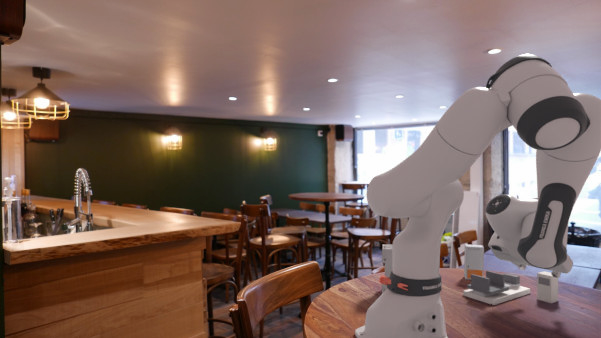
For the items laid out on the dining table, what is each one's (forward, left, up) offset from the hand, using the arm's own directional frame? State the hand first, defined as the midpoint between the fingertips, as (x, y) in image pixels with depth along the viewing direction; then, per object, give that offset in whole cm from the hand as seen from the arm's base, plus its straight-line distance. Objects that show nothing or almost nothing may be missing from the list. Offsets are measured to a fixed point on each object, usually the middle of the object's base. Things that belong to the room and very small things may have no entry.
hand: (539, 271), depth 112 cm
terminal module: (+6, +1, -10) cm, 12 cm away
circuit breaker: (-27, +27, -10) cm, 39 cm away
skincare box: (+7, +26, -10) cm, 28 cm away
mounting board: (-2, +12, -10) cm, 15 cm away
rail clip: (-2, +12, -8) cm, 14 cm away
